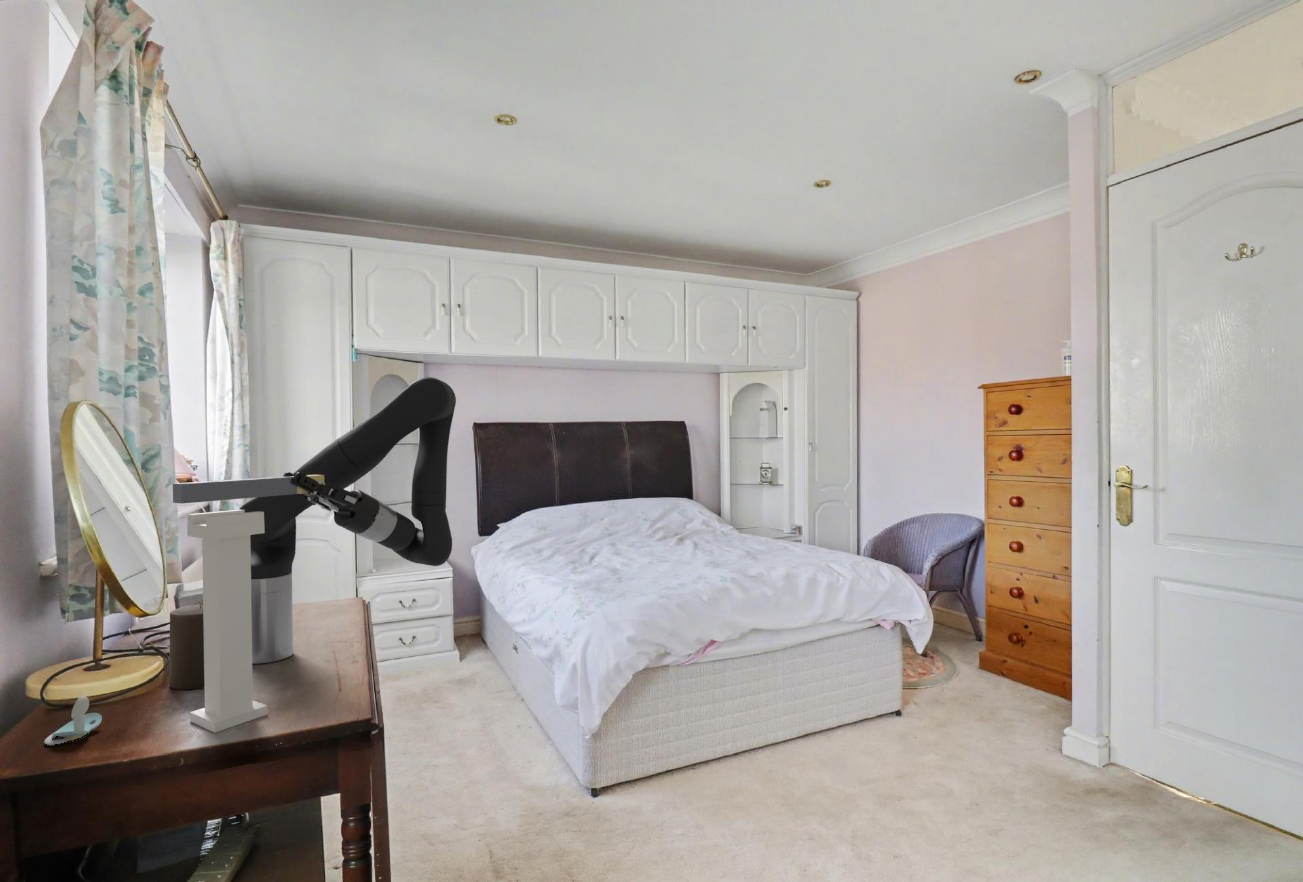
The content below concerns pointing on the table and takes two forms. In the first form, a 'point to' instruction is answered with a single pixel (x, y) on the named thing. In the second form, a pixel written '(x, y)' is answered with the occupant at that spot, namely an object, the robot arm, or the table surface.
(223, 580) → the stand
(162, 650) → the table surface
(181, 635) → the pillar candle
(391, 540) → the robot arm
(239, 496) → the bar
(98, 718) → the pacifier
